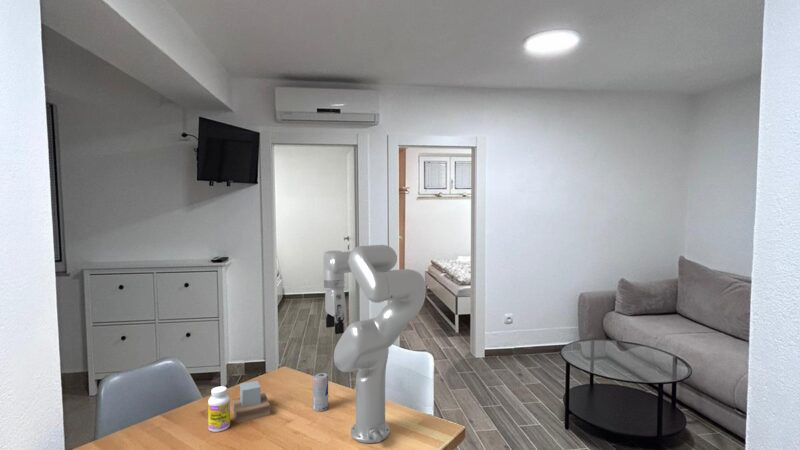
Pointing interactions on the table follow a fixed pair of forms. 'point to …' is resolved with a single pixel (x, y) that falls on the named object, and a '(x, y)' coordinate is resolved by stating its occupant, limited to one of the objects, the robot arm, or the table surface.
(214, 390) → the supplement bottle
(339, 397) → the table surface
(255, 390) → the slate cube
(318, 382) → the energy drink
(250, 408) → the walnut block
